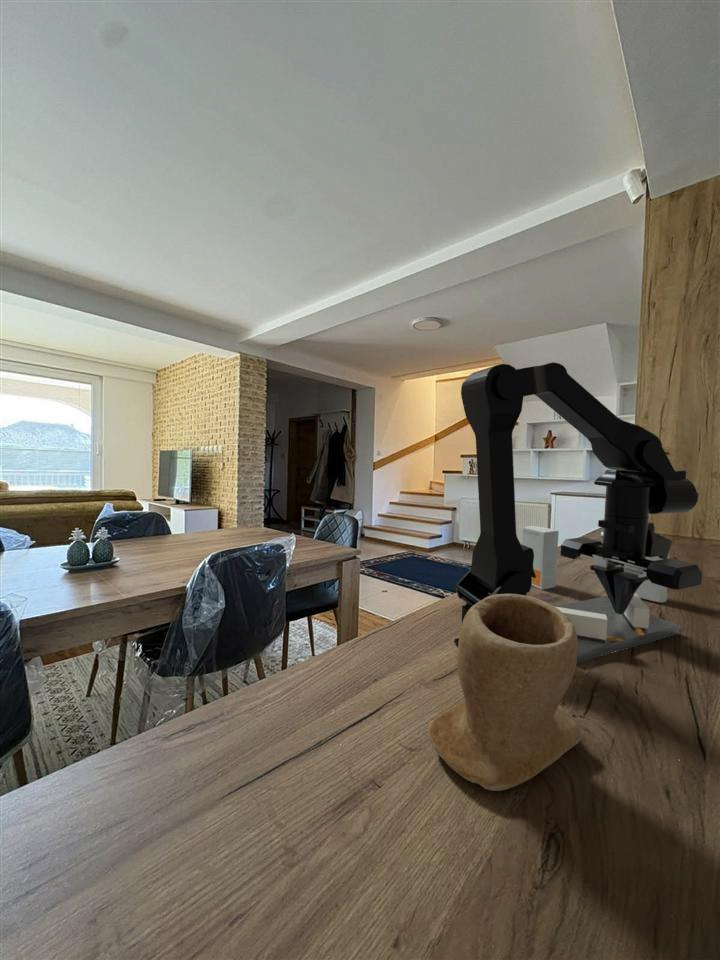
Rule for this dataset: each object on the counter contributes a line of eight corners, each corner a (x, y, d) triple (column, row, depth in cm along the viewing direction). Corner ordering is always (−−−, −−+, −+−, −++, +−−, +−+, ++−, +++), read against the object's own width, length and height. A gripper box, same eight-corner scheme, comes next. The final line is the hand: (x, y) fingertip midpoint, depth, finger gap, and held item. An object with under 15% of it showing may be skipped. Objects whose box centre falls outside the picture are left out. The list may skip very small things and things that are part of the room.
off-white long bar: (614, 602, 73) (615, 585, 73) (630, 604, 72) (631, 587, 72) (631, 626, 64) (632, 607, 63) (649, 628, 63) (651, 609, 63)
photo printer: (602, 590, 85) (605, 530, 84) (610, 585, 87) (613, 527, 86) (662, 605, 77) (667, 539, 76) (669, 600, 80) (674, 536, 78)
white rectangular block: (528, 626, 63) (529, 607, 63) (529, 620, 65) (530, 602, 65) (606, 640, 59) (607, 620, 59) (604, 633, 61) (605, 614, 61)
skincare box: (518, 581, 90) (521, 526, 89) (533, 578, 92) (535, 525, 91) (541, 590, 84) (544, 532, 83) (556, 587, 86) (559, 530, 85)
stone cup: (509, 839, 31) (517, 646, 30) (411, 741, 41) (414, 594, 40) (620, 762, 39) (630, 606, 37) (514, 695, 49) (519, 570, 48)
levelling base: (573, 665, 56) (574, 645, 55) (503, 625, 68) (504, 609, 67) (679, 635, 65) (680, 617, 65) (601, 604, 77) (601, 590, 77)
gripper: (729, 522, 59) (719, 629, 60) (604, 503, 76) (599, 587, 77) (681, 528, 54) (671, 643, 56) (560, 507, 71) (555, 595, 73)
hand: (619, 613), depth 65 cm, fingers closed
